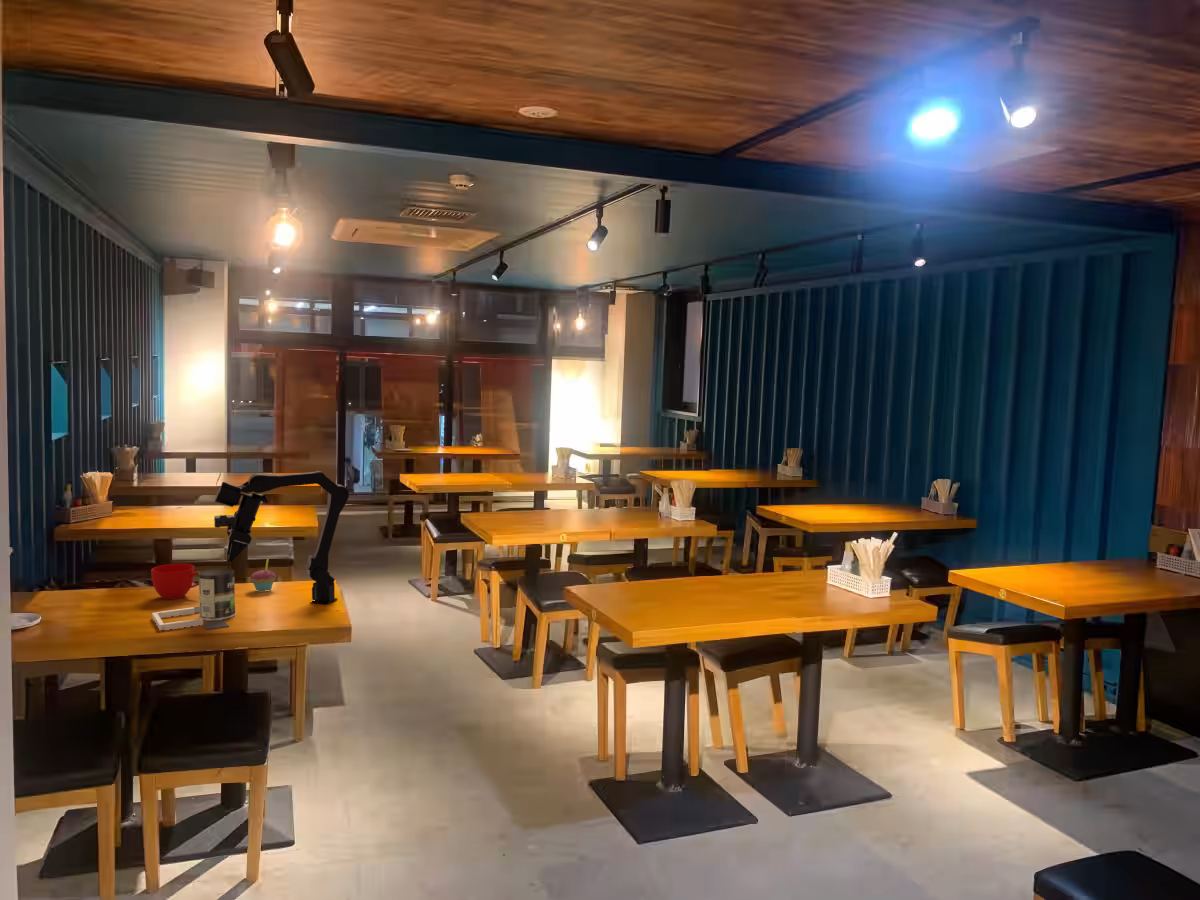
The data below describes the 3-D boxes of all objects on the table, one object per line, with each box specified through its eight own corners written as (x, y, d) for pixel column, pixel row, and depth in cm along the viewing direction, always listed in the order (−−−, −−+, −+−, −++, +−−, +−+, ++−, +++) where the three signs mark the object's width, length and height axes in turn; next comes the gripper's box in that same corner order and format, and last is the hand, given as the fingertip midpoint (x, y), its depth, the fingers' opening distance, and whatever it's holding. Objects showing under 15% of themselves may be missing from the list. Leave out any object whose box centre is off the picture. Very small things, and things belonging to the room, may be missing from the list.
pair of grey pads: (210, 605, 281) (210, 605, 281) (228, 626, 259) (228, 625, 259) (190, 608, 278) (190, 607, 278) (207, 629, 256) (207, 628, 256)
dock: (193, 612, 273) (193, 607, 273) (203, 624, 261) (203, 619, 260) (152, 618, 267) (152, 612, 266) (160, 631, 254) (159, 625, 254)
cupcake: (280, 588, 306) (280, 554, 305) (269, 594, 297) (268, 559, 296) (257, 587, 306) (256, 553, 305) (245, 593, 298) (244, 558, 297)
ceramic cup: (195, 602, 285) (194, 572, 284) (144, 601, 285) (143, 571, 284) (213, 592, 298) (212, 564, 297) (164, 591, 298) (163, 563, 297)
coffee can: (238, 611, 276) (237, 567, 275) (231, 620, 266) (230, 575, 265) (203, 612, 274) (202, 568, 273) (195, 621, 264) (194, 576, 263)
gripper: (219, 499, 281) (202, 545, 280) (222, 508, 264) (203, 557, 263) (254, 510, 286) (237, 555, 285) (259, 519, 269) (241, 566, 268)
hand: (229, 558), depth 275 cm, fingers open, 9 cm apart
